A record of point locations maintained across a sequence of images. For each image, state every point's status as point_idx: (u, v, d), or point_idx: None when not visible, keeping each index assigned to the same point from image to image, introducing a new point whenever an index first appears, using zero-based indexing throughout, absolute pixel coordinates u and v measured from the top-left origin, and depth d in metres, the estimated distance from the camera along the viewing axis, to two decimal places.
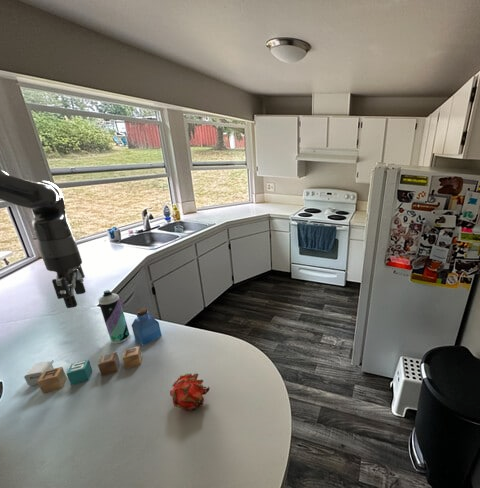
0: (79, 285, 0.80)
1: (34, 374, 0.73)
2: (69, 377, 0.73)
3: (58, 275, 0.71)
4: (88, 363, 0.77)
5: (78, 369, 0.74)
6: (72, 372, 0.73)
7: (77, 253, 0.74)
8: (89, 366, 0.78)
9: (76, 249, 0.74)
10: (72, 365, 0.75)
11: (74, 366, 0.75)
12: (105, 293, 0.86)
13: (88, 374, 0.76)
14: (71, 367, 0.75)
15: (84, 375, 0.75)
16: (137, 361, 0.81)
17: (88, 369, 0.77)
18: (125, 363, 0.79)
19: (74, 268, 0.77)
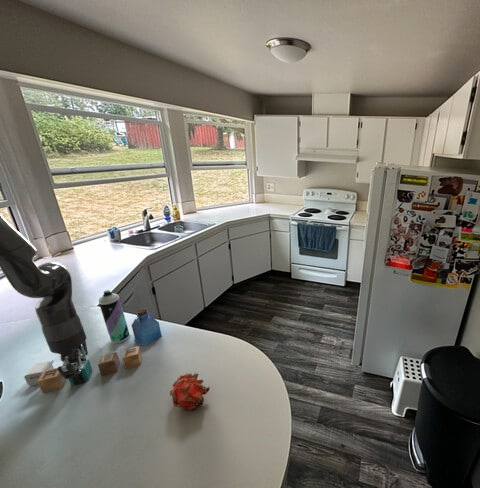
0: None
1: (34, 374, 0.73)
2: None
3: (62, 357, 0.69)
4: (88, 363, 0.77)
5: None
6: None
7: (81, 331, 0.72)
8: (89, 366, 0.78)
9: (80, 327, 0.72)
10: None
11: None
12: (105, 293, 0.86)
13: (88, 374, 0.76)
14: None
15: (84, 375, 0.75)
16: (137, 361, 0.81)
17: (88, 369, 0.77)
18: (125, 363, 0.79)
19: None
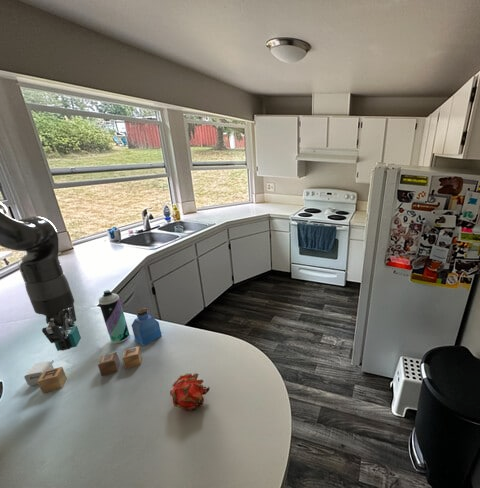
0: None
1: (34, 374, 0.73)
2: (55, 342, 0.69)
3: (47, 318, 0.65)
4: (76, 329, 0.73)
5: None
6: None
7: (69, 293, 0.68)
8: (77, 333, 0.73)
9: (67, 288, 0.68)
10: None
11: (61, 331, 0.71)
12: (105, 293, 0.86)
13: (76, 341, 0.72)
14: None
15: (71, 341, 0.71)
16: (137, 361, 0.81)
17: (76, 336, 0.72)
18: (125, 363, 0.79)
19: (66, 307, 0.71)
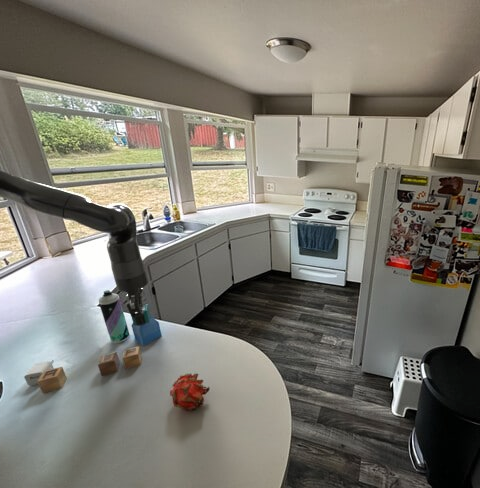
0: None
1: (34, 374, 0.73)
2: (133, 318, 0.76)
3: (129, 295, 0.72)
4: (148, 307, 0.80)
5: None
6: None
7: (145, 273, 0.75)
8: (148, 310, 0.81)
9: (144, 269, 0.75)
10: None
11: None
12: (105, 293, 0.86)
13: (149, 317, 0.80)
14: None
15: (145, 317, 0.78)
16: (137, 361, 0.81)
17: (148, 313, 0.80)
18: (125, 363, 0.79)
19: None
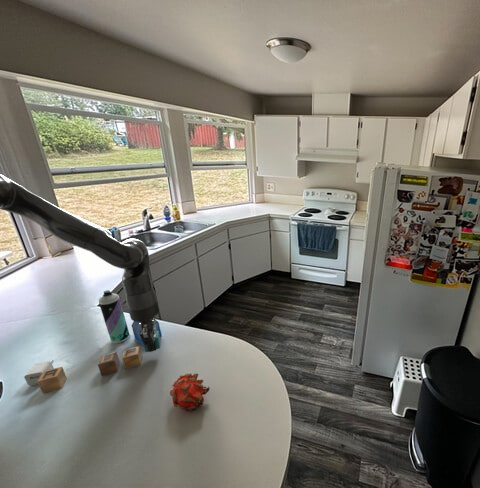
0: None
1: (34, 374, 0.73)
2: None
3: (142, 325, 0.77)
4: (158, 333, 0.85)
5: None
6: None
7: (156, 302, 0.80)
8: (159, 336, 0.85)
9: (156, 299, 0.79)
10: None
11: None
12: (105, 293, 0.86)
13: (159, 343, 0.84)
14: None
15: (157, 343, 0.82)
16: (137, 361, 0.81)
17: (159, 339, 0.84)
18: (125, 363, 0.79)
19: None
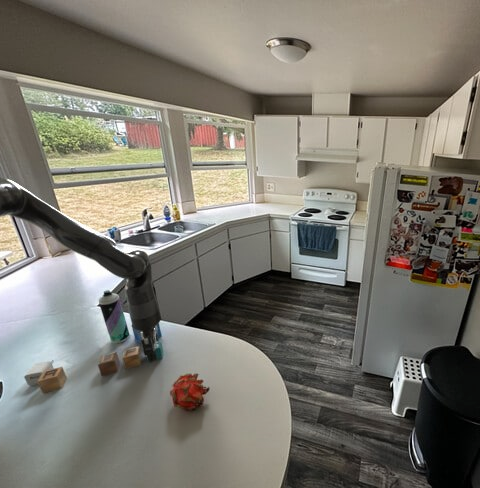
0: None
1: (34, 374, 0.73)
2: None
3: (144, 333, 0.78)
4: None
5: None
6: None
7: (158, 311, 0.81)
8: (161, 346, 0.86)
9: (157, 308, 0.80)
10: None
11: None
12: (105, 293, 0.86)
13: (162, 353, 0.85)
14: None
15: (159, 353, 0.84)
16: (137, 361, 0.81)
17: (161, 349, 0.85)
18: (125, 363, 0.79)
19: None
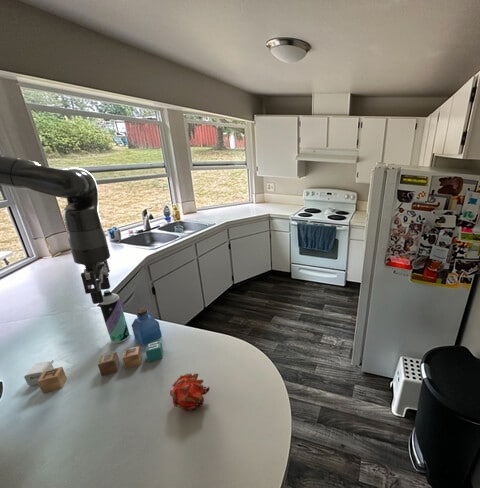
0: (104, 280, 0.76)
1: (34, 374, 0.73)
2: (147, 355, 0.82)
3: (86, 268, 0.67)
4: None
5: (154, 348, 0.83)
6: (150, 350, 0.82)
7: (106, 246, 0.70)
8: (161, 346, 0.86)
9: (105, 242, 0.70)
10: (148, 345, 0.84)
11: (150, 346, 0.84)
12: (105, 293, 0.86)
13: (162, 353, 0.85)
14: (148, 346, 0.83)
15: (159, 353, 0.84)
16: (137, 361, 0.81)
17: (161, 349, 0.85)
18: (125, 363, 0.79)
19: (101, 262, 0.73)
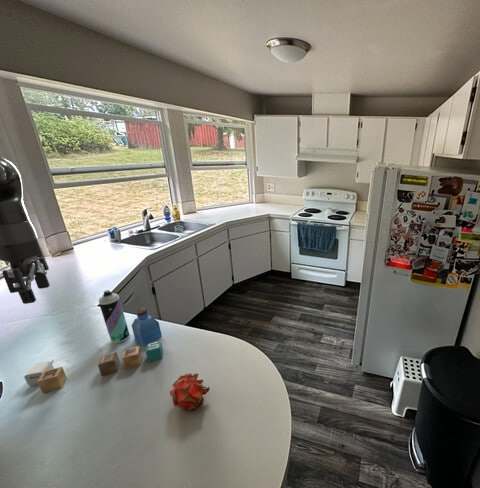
0: (41, 278, 0.71)
1: (34, 374, 0.73)
2: (147, 355, 0.82)
3: (11, 266, 0.62)
4: None
5: (154, 348, 0.83)
6: (150, 350, 0.82)
7: (35, 241, 0.65)
8: (161, 346, 0.86)
9: (34, 236, 0.64)
10: (148, 345, 0.84)
11: (150, 346, 0.84)
12: (105, 293, 0.86)
13: (162, 353, 0.85)
14: (148, 346, 0.83)
15: (159, 353, 0.84)
16: (137, 361, 0.81)
17: (161, 349, 0.85)
18: (125, 363, 0.79)
19: (34, 258, 0.67)
